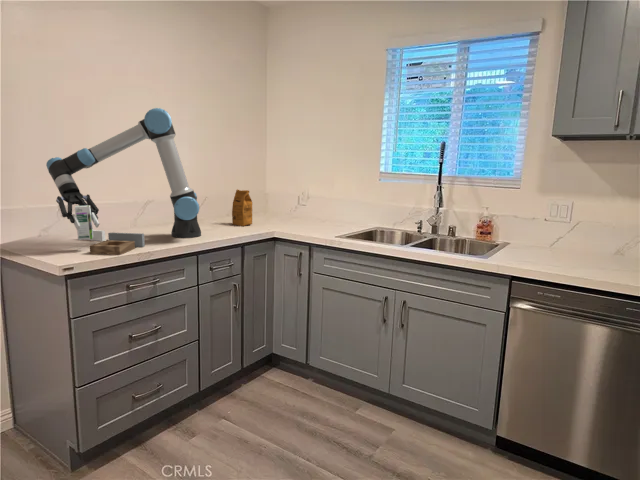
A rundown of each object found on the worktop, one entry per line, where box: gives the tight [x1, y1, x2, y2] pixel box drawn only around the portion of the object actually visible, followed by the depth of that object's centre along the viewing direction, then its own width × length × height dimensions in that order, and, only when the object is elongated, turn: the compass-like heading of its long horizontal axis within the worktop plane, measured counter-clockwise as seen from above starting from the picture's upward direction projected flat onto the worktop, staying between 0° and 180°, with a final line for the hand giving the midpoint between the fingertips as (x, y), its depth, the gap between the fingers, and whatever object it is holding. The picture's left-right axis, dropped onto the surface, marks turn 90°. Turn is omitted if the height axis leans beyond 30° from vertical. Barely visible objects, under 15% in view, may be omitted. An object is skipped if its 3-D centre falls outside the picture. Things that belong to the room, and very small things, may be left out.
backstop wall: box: [107, 232, 146, 248], centre depth 204 cm, size 16×2×6 cm, turn 86°
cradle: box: [89, 239, 136, 256], centre depth 192 cm, size 13×13×4 cm
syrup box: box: [74, 205, 93, 241], centre depth 191 cm, size 6×6×14 cm
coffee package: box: [231, 188, 253, 227], centre depth 275 cm, size 10×12×22 cm
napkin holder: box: [85, 229, 107, 242], centre depth 218 cm, size 15×11×6 cm
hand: (88, 226), depth 189 cm, fingers closed on syrup box, 7 cm apart
